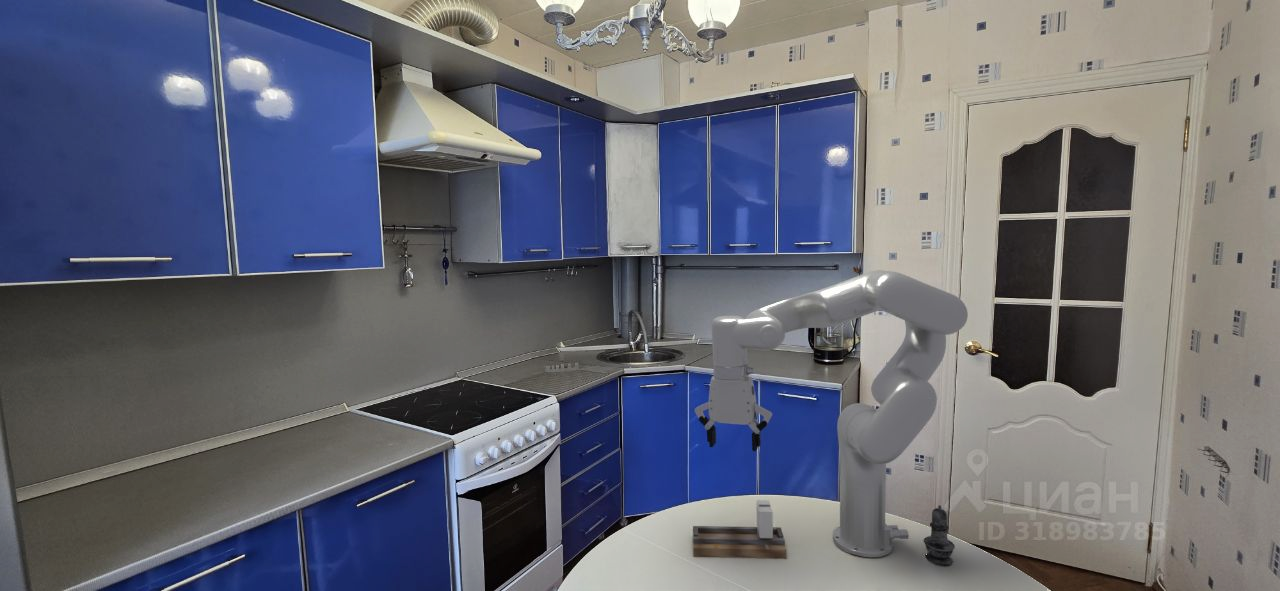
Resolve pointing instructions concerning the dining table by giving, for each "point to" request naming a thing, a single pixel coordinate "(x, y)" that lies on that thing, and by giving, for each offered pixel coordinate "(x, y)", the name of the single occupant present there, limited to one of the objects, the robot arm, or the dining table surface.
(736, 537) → the wooden tray
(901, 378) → the robot arm
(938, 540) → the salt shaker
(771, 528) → the block
